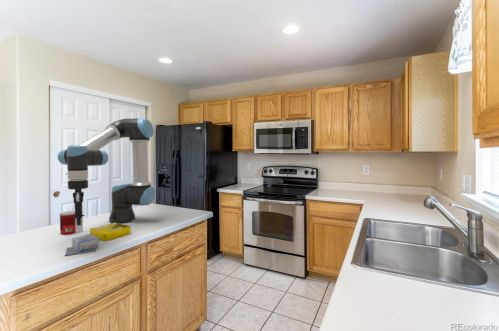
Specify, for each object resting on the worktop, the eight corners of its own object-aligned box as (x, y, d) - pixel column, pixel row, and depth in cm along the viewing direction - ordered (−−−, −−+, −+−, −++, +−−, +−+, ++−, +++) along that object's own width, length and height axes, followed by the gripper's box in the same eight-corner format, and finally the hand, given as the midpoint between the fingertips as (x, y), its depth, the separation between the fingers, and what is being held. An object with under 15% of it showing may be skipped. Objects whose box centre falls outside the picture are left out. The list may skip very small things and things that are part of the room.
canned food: (81, 230, 140) (81, 211, 140) (67, 235, 133) (67, 214, 132) (71, 229, 142) (70, 210, 142) (56, 234, 135) (56, 213, 134)
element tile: (105, 242, 124) (104, 232, 124) (88, 237, 132) (87, 228, 131) (132, 234, 137) (132, 225, 137) (115, 229, 145) (115, 221, 145)
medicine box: (91, 233, 121) (98, 237, 115) (91, 242, 121) (98, 247, 116) (71, 238, 115) (78, 242, 109) (72, 247, 115) (79, 252, 109)
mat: (95, 244, 120) (95, 243, 120) (95, 251, 112) (95, 250, 112) (67, 248, 115) (67, 247, 115) (64, 256, 107) (64, 255, 107)
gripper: (69, 178, 117) (70, 229, 118) (66, 181, 105) (67, 237, 107) (88, 178, 120) (89, 226, 122) (87, 180, 109) (88, 234, 111)
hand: (79, 231), depth 114 cm, fingers closed
